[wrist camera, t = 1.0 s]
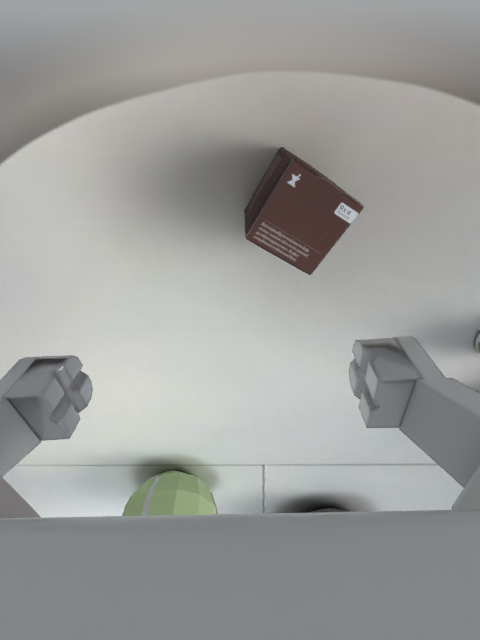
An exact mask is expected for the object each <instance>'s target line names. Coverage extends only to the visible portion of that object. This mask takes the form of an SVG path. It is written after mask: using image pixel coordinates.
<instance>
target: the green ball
mask: <svg viewBox="0 0 480 640" xmlns="http://www.w3.org/2000/svg"><path fill="white" fill-rule="evenodd" d="M212 514H218V511H217V508H216V505H215V502H214V499H213V496H212V493H211V492H210V490H209V487H208V486H207V485H206V484H205V483H204V482H203V481H201V480H200V479H199V478H198V477H197V476H194V475H190V474H187V473H183V472H179V471H175V470H171V471H167V472H164V473H161V474H157V475H154V476H152V477H151V478H150V479H147V480H146V481H145V482H144V483H143V484H142V485H141V486H140V487H139V488H138V489H137V491H136V492H135V493H134V494H133V495H132V496H131V497H130V499H129V501H128V502H127V504H126V506H125V509H124V512H123V515H122V516H159V515H212Z"/></svg>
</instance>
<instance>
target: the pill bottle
mask: <svg viewBox="0 0 480 640" xmlns="http://www.w3.org/2000/svg"><path fill="white" fill-rule="evenodd" d="M475 345H476V349H477V350H478V351H479V353H480V333H479V335H478V336H477V339H476V342H475Z"/></svg>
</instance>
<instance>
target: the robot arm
mask: <svg viewBox="0 0 480 640" xmlns="http://www.w3.org/2000/svg"><path fill="white" fill-rule="evenodd" d="M352 352H353V354H354V356H355V359H354V360H353V361H352V362H351V363H350V369H349V378H350V384H351V388H352V391H353V394H354V395H355V396H356V397H357V398H359V399H360V404H359V410H360V412H361V415H362V417H363V420H364V422H365V425H366V427H367V428H399V429H400V430H401V431H402V432H403V433H404V434H405V435H406V436H407V437H408V438H410V439H411V440H412V441H413V442H414V443H415V444H416V445H417V446H418V447H420V448H421V449H422V450H423V451H424V452H425V453H426V454H427V455H428V456H429V457H431V458H432V459H433V460H434V461H435V462H436V463H437V464H438V465H439V466H440V467H442V468H443V469H444V470H445V471H446V472H447V473H448V474H449V475H450V476H452V477H453V478H454V479H455V480H456V481H457V482H458V483H459V484H460V485H461V486H463V487H464V489H463V490H462V492H461V493H460V495H459V496H458V498H457V499H456V501H455V502H454V504H453V506H452V510H429V511H377V512H322V513H267V514H212V515H159V516H107V517H56V518H8V519H0V640H480V393H479V392H477V391H475V390H474V389H472V388H470V387H468V386H466V385H464V384H462V383H461V382H459V381H457V380H455V379H453V378H445V376H444V375H443V374H442V372H441V371H440V370H439V368H438V367H437V366H436V364H435V363H434V362H433V361H432V359H431V358H430V357H429V355H428V354H427V353H426V351H425V350H424V349H423V347H422V346H421V345H420V343H419V342H418V341H417V340H416V338H414V337H412V336H406V337H393V338H383V339H366V340H355V342H354V345H353V350H352ZM82 366H83V365H82V363H81V361H80V360H79V358H78V357H76V356H42V357H25V358H23V359H20V360H19V361H18V362H17V363H16V364H15V365H14V366H13V367H12V368H11V369H10V370H9V371H8V373H7V374H6V375H5V376H4V377H3V378H2V379H1V380H0V479H1V478H2V477H3V476H4V475H5V474H6V473H7V472H8V471H10V470H11V469H12V468H13V467H14V466H15V465H16V464H17V463H18V462H20V461H21V460H22V459H23V458H24V457H25V456H26V455H27V454H28V453H30V452H31V451H32V450H33V449H34V448H35V447H36V446H37V445H38V444H39V443H41V441H42V440H57V439H70V437H71V435H72V433H73V431H74V430H75V428H76V426H77V424H78V422H79V420H80V416H79V412H80V411H82V410H83V409H84V408H86V407H87V406H88V404H89V402H90V400H91V396H92V390H93V388H92V383H91V380H90V378H89V376H88V375H86V374H85V373H83V372H82V371H81V369H82Z"/></svg>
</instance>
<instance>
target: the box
mask: <svg viewBox="0 0 480 640" xmlns="http://www.w3.org/2000/svg"><path fill="white" fill-rule="evenodd" d="M363 208H364V205H363V204H361V203H360V202H358V201H357V200H356V199H354V198H353V197H351V196H350V195H349V194H347V193H346V192H345V191H343V190H342V189H341V188H339V187H338V186H337V185H336V184H335V183H333V182H332V181H331V180H329V179H328V178H327V177H325V176H324V175H323V174H321V173H320V172H319V171H317V170H316V169H315V168H313V167H312V166H310V165H309V164H307V163H306V162H304V161H303V160H301V159H300V158H298V157H297V156H295V155H294V154H292V153H290V152H289V151H287V150H286V149H285V148H283V147H281V148H280V149H279V150H278V152H277V154H276V155H275V157H274V159H273V161H272V162H271V164H270V166H269V168H268V169H267V171H266V173H265V175H264V177H263V178H262V180H261V182H260V184H259V185H258V187H257V189H256V191H255V193H254V194H253V196H252V198H251V200H250V202H249V203H248V205H247V207H246V209H245V232H246V239H248V240H249V241H251V242H252V243H254V244H256V245H257V246H259V247H261V248H263V249H264V250H266V251H268V252H270V253H272V254H273V255H275V256H277V257H279V258H280V259H282V260H284V261H286V262H287V263H289V264H291V265H293V266H294V267H296V268H298V269H300V270H302V271H303V272H305V273H307V274H309V275H311V274H312V273H313V271H314V270H315V269H316V268H317V266H318V265H319V264H320V262H321V261H322V260H323V259H324V257H325V256H326V255H327V254H328V252H329V251H330V250H331V248H332V247H333V246H334V245H335V243H336V242H337V241H338V239H339V238H340V237H341V236H342V234H343V233H344V232H345V231H346V229H347V228H348V227H349V226H350V224H351V223H352V222H353V221H354V219H355V218H356V217H357V215H358V214H359V213H360V212H361V210H362V209H363Z"/></svg>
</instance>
